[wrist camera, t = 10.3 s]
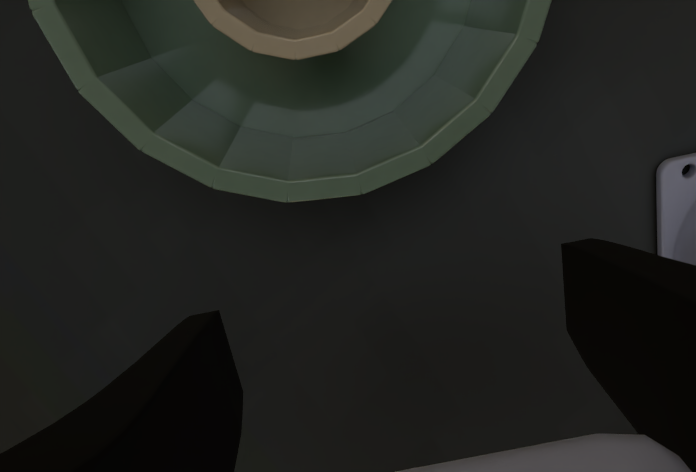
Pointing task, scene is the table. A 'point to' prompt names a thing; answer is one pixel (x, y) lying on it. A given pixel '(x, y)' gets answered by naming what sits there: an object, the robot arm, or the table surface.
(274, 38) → the cup
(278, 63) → the green handled tub
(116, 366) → the table surface
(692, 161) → the robot arm
